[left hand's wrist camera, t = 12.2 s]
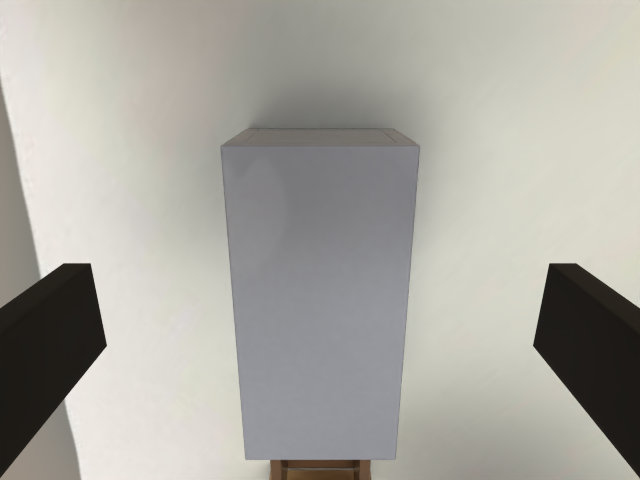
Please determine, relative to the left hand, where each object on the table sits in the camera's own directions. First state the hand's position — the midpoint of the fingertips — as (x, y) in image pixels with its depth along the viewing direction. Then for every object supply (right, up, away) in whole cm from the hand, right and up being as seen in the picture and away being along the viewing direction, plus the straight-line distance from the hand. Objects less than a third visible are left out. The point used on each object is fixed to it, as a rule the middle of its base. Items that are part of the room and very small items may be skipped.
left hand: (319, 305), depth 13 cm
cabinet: (0, 0, +22) cm, 22 cm away
